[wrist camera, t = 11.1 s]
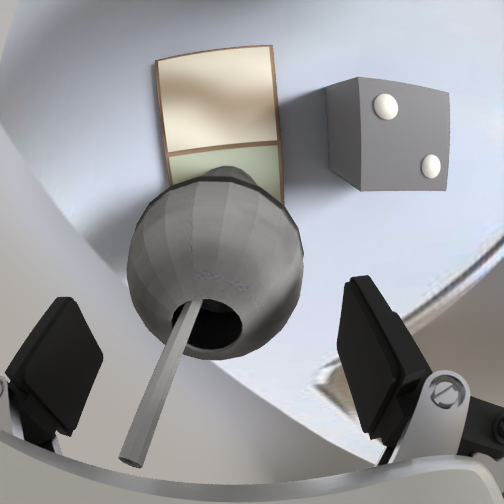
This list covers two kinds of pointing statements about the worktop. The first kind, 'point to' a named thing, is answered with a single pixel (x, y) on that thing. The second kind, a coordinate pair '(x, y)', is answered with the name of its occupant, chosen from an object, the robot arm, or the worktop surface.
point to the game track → (221, 114)
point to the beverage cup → (209, 279)
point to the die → (388, 135)
